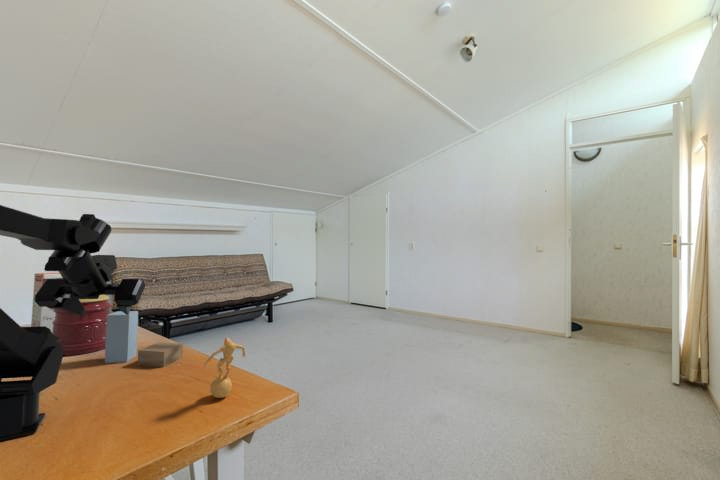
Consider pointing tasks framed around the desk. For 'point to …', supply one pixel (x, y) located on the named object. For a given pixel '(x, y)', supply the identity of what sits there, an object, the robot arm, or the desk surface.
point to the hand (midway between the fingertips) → (106, 313)
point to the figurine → (221, 383)
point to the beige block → (160, 354)
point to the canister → (83, 327)
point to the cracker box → (42, 314)
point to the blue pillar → (121, 337)
